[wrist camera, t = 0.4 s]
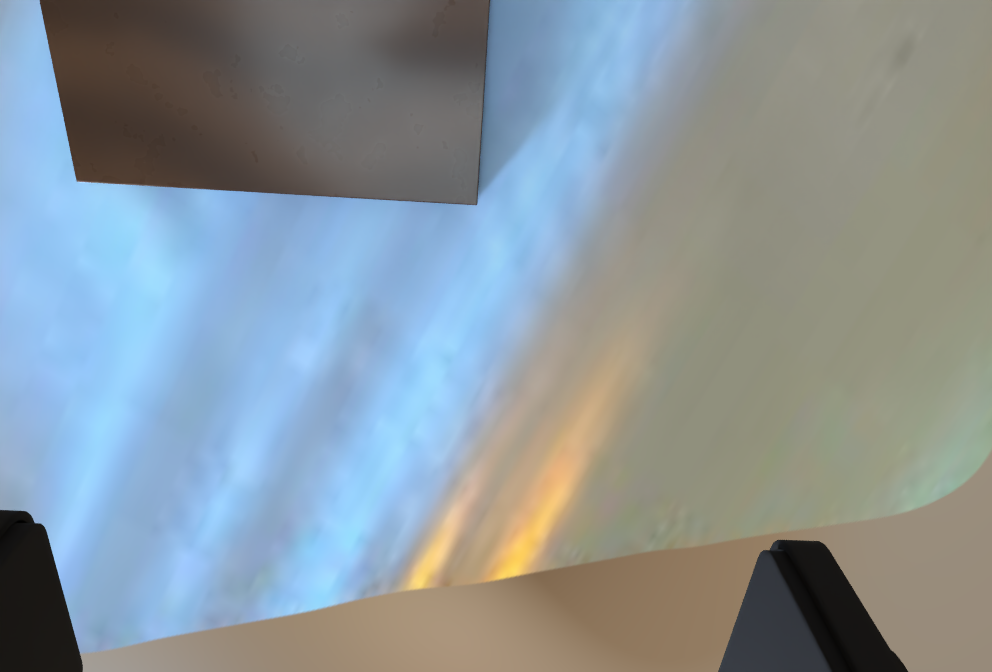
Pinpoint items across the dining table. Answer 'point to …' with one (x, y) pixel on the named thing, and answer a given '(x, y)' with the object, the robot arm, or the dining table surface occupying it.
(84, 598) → the dining table surface
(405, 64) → the board
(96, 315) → the dining table surface
